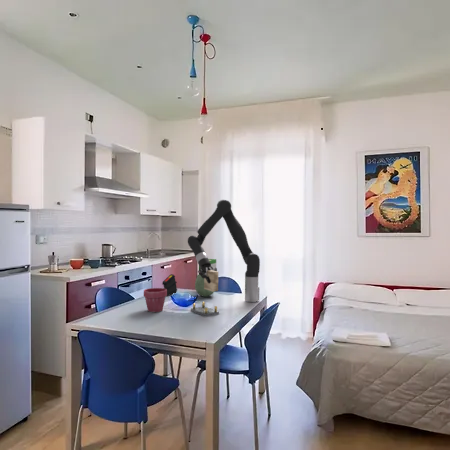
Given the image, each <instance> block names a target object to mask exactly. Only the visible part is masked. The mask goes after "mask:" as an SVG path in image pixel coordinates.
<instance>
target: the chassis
mask: <svg viewBox="0 0 450 450" xmlns="http://www.w3.org/2000/svg"><path fill="white" fill-rule="evenodd" d="M205 304H206V302H205V301H203V302H202V303H201V306H197V307H196V303H195V302H194V303H192V308H190V312H192V313H195V314H198V315H200V316H202V317H209V316H216V315H220V311H219V310H218V306H214V308H211V307H208V306H206V305H205Z"/></svg>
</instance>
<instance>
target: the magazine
mask: <svg viewBox="0 0 450 450" xmlns="http://www.w3.org/2000/svg"><path fill="white" fill-rule="evenodd" d="M177 284H178V282H177V280H176V275H175V274H169V275H168V276H167V277H166V278H165V279H164V280H163V281H162V283H161V285H163V288H164V289H167V296H166V297H169V296H173V295H172V294H173V293H176V292H178V288H177Z"/></svg>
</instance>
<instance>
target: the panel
mask: <svg viewBox="0 0 450 450" xmlns="http://www.w3.org/2000/svg"><path fill="white" fill-rule="evenodd" d="M207 273H208V277H209V278H210V281H211V282H210V283H208V282H207V280H206V279H205V278H204V289H206V290H209V291H212V292H213V291H215V292H218V291H219V271H218V270H217V271H213V270H208V271H207Z"/></svg>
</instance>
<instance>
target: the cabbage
mask: <svg viewBox="0 0 450 450" xmlns="http://www.w3.org/2000/svg"><path fill="white" fill-rule="evenodd" d="M194 281H195V283H194V289H195V291H196V293H197V294H198V295H200V296H201V297H204V298H205V297H210V296H212V295H213V294H214V293H215V292H216V291H213V292H212V291H209V290H206V289H204V278H202V277H201V276H200V274H199V273H198V274H197V275H196V279H195V280H194Z"/></svg>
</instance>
